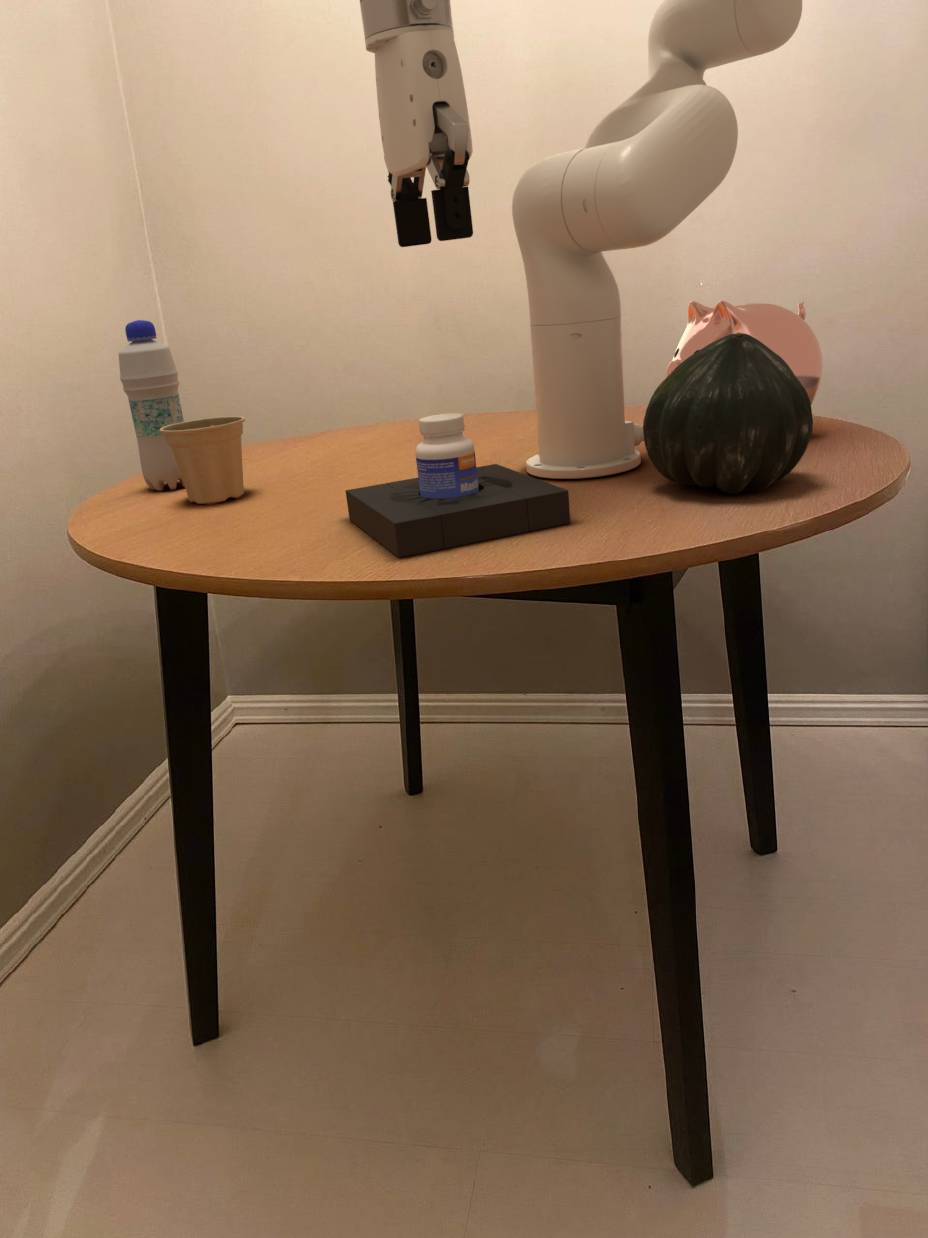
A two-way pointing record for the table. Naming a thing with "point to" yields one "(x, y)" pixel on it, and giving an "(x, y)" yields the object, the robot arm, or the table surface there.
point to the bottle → (151, 401)
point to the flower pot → (208, 457)
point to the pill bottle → (445, 458)
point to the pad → (457, 511)
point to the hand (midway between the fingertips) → (434, 242)
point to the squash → (729, 418)
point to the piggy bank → (756, 335)
